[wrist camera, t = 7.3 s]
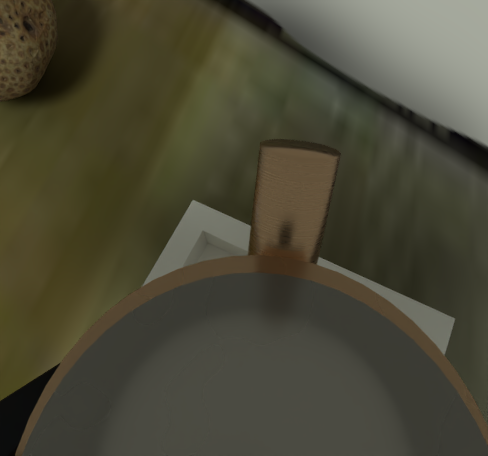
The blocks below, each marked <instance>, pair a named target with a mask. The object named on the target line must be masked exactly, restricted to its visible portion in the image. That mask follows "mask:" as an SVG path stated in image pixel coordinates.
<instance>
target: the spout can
mask: <svg viewBox="0 0 488 456" xmlns="http://www.w3.org/2000/svg"><path fill="white" fill-rule="evenodd" d="M340 156H341V153H340V152H339V151H338V150H336V149H334V148H331V147H328V146H325V145H321V144H317V143H312V142H306V141H299V140H288V139H272V140H265V141H262V142H261V143H260V150H259V159H258V168H257V176H256V185H255V194H254V202H253V211H252V220H251V229H250V237H249V246H248V255H245V256H229V257H223V258H217V259H211V260H205V261H202V262H199V263H195V264H192V265H189V266H185V267H182V268H179V269H177V270H174V271H172V272H170V273H168V274H165V275H163V276H161V277H159V278H156V279H154V280H152V281H151V282H149V283H147V284H146V285H144V286H142V287H141V288H139V289H137V290H136V291H134V292H132V293H131V294H129V295H128V296H127V297H125V298H124V299H123V300H121V301H120V302H119V303H117V304H116V305H115V306H114V307H112V308H111V309H110V310H108V311H107V312H106V313H105V314H104V315H103V316H102V317H101V318H100V319H99V320H98V321H97V322H96V323H95V324H94V325H92V326H91V327H90V328H89V329H88V330H87V331H86V332H85V333H84V334H83V336H82V337H81V338H80V339H79V340H78V342H77V343H76V344H75V345H74V347H73V348H72V349H71V350H70V351H69V353H68V354H67V355H66V356H65V357H64V359H63V360H62V362H61V363H60V365H59V366H58V368H57V370H56V371H55V373H54V374H53V376H52V377H51V379H50V380H49V382H48V383H47V385H46V386H45V388H44V390H43V392H42V394H41V396H40V398H39V400H38V402H37V404H36V406H35V408H34V410H33V412H32V413H31V415H30V417H29V420H28V422H27V425H26V428H25V430H24V433H23V435H22V438H21V440H20V443H19V446H18V448H17V451H16V454H15V456H488V426H487V424H486V422H485V420H484V418H483V416H482V414H481V412H480V410H479V408H478V406H477V404H476V402H475V400H474V398H473V397H472V395H471V394H470V392H469V390H468V389H467V387H466V386H465V384H464V382H463V381H462V379H461V378H460V376H459V374H458V373H457V371H456V370H455V368H454V367H453V366H452V365H451V363H450V362H449V361H448V359H447V358H446V357H445V356H444V354H443V353H442V352H441V351H440V349H439V348H438V347H437V345H436V344H435V343H434V342H433V341H432V340H431V339H430V338H429V337H428V336H427V335H426V334H425V333H424V332H423V331H422V330H421V329H420V328H419V327H418V326H417V325H416V324H415V322H414V321H413V320H411V319H410V318H409V317H408V316H407V315H405V314H404V313H403V312H402V311H400V310H399V309H398V308H397V307H396V306H394V305H393V304H392V303H391V302H389V301H388V300H387V299H385V298H383V297H382V296H380V295H379V294H377V293H376V292H374V291H373V290H371V289H370V288H368V287H366V286H365V285H363V284H361V283H359V282H357V281H355V280H353V279H351V278H349V277H347V276H345V275H343V274H341V273H339V272H336V271H333V270H330V269H328V268H325V267H322V266H319V265H317V263H318V258H319V253H320V249H321V244H322V240H323V235H324V230H325V226H326V221H327V216H328V212H329V207H330V203H331V198H332V193H333V189H334V184H335V179H336V175H337V170H338V166H339V161H340Z"/></svg>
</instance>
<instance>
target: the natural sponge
mask: <svg viewBox="0 0 488 456" xmlns="http://www.w3.org/2000/svg"><path fill="white" fill-rule="evenodd" d="M57 38H58V34H57V17H56V11H55V8H54V5H53V2H52V0H0V102H2V101H7V100H11V99H14V98H18V97H21V96H23V95H25V94H28V93H30V92H31V91H32V90H33V89H34V88H35V87H36V86H37V84H38V83H39V81H40V79H41V78H42V76H43V75H44V73H45V71H46V68H47V66H48V64H49V62H50V60H51V58H52V56H53V54H54V52H55V49H56V45H57Z"/></svg>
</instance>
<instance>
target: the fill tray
mask: <svg viewBox="0 0 488 456" xmlns="http://www.w3.org/2000/svg"><path fill="white" fill-rule="evenodd" d="M250 229H251V226H250V225H247V224H245V223H243V222H241V221H239V220H236V219H234V218H232V217H230V216H228V215H225V214H223V213H221V212H219V211H217V210H214V209H212V208H210V207H208V206H206V205H203V204H201V203H199V202H197V201H194V200H193V201H192V202H191V204H190V206H189V207H188V209H187V211H186V213H185V214H184V216H183V218H182V219H181V221H180V223H179V224H178V226H177V228H176V230H175V231H174V233H173V235H172V236H171V238H170V240H169V241H168V243H167V245H166V247H165V248H164V250H163V252H162V253H161V255H160V257H159V258H158V260H157V262H156V264H155V265H154V267H153V269H152V270H151V272H150V274H149V275H148V277H147V279H146V281H145V282H144V284H143V286H144V285H146V284H147V283H149V282H151V281H152V280H154V279H156V278H159V277H161V276H163V275H165V274H168V273H170V272H172V271H174V270H177V269H179V268H182V267H185V266H189V265H192V264H195V263H199V262H202V261H205V260H211V259H217V258H223V257H229V256H245V255H248V246H249V237H250ZM317 265H319V266H322V267H325V268H328V269H330V270H333V271H336V272H339V273H341V274H343V275H345V276H347V277H349V278H351V279H353V280H355V281H357V282H359V283H361V284H363V285H365V286H366V287H368V288H370V289H371V290H373V291H374V292H376V293H377V294H379V295H380V296H382V297H383V298H385V299H387V300H388V301H389V302H391V303H392V304H393V305H394V306H396V307H397V308H398V309H399V310H400V311H402V312H403V313H404V314H405V315H407V316H408V317H409V318H410V319H411V320H413V321H414V322H415V324H416V325H417V326H418V327H419V328H420V329H421V330H422V331H423V332H424V333H425V334H426V335H427V336H428V337H429V338H430V339H431V340H432V341H433V342H434V343H435V344H436V345H437V347H438V348H439V349H440V351H441V352H442V353H443V354H444V356H445V352H446V349H447V345H448V342H449V339H450V335H451V332H452V328H453V325H454V321H455V318H453V317H450V316H448V315H446V314H444V313H442V312H439V311H437V310H435V309H433V308H431V307H428V306H426V305H424V304H422V303H420V302H417V301H415V300H413V299H411V298H409V297H406V296H404V295H402V294H400V293H398V292H395V291H393V290H391V289H389V288H386V287H384V286H382V285H380V284H378V283H375V282H373V281H371V280H369V279H367V278H364V277H362V276H360V275H358V274H356V273H353V272H351V271H349V270H347V269H345V268H342V267H340V266H338V265H336V264H334V263H331V262H329V261H327V260H325V259H322V258H320V257H319V258H318V263H317Z"/></svg>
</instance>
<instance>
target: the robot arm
mask: <svg viewBox="0 0 488 456" xmlns="http://www.w3.org/2000/svg"><path fill="white" fill-rule="evenodd" d="M59 365H60V363H59V364H58V365H56V366H55V367H53V368H52V369H50V370H48V371H47V372H45V373H44V374H42V375H40V376H39V377H37V378H36V379H34V380H33V381H31V382H29V383H28V384H26V385H25V386H23V387H21V388H20V389H18V390H17V391H15V392H14V393H12V394H10V395H9V396H7V397H6V398H4V399H2V400H1V401H0V456H15V454H16V451H17V448H18V446H19V443H20V440H21V438H22V435H23V433H24V430H25V428H26V425H27V422H28V420H29V417H30V415H31V413H32V412H33V410H34V408H35V406H36V404H37V402H38V400H39V398H40V396H41V394H42V392H43V390H44V388H45V386H46V385H47V383H48V382H49V380H50V379H51V377H52V376H53V374H54V373H55V371H56V370H57V368H58V366H59Z"/></svg>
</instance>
